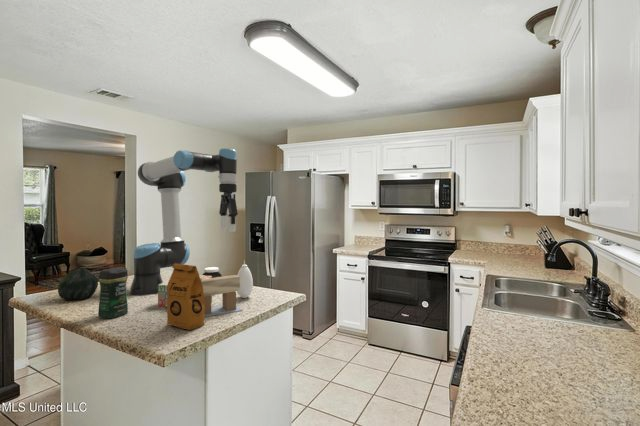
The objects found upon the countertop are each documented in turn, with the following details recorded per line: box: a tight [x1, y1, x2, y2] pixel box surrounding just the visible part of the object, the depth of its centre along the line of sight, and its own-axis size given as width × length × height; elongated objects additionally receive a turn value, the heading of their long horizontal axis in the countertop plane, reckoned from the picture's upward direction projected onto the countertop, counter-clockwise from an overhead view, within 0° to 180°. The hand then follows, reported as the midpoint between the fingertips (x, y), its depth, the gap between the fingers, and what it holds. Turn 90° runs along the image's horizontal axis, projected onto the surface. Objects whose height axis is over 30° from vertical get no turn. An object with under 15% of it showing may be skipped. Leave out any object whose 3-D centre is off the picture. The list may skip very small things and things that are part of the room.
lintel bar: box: [201, 274, 240, 297], centre depth 135 cm, size 4×18×6 cm, turn 129°
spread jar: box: [201, 266, 223, 278], centre depth 164 cm, size 12×11×12 cm
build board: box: [204, 291, 243, 318], centre depth 136 cm, size 10×18×7 cm, turn 121°
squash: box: [57, 267, 99, 301], centre depth 152 cm, size 14×15×15 cm
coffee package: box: [166, 264, 205, 331], centre depth 119 cm, size 10×12×22 cm
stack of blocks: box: [157, 274, 213, 307], centre depth 144 cm, size 21×6×12 cm, turn 90°
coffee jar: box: [97, 266, 129, 320], centre depth 129 cm, size 10×8×19 cm
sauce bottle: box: [236, 259, 254, 299], centre depth 155 cm, size 8×8×18 cm
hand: (227, 230), depth 150 cm, fingers open, 13 cm apart
